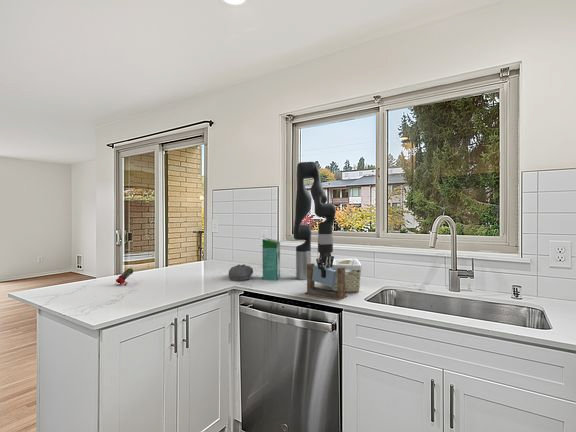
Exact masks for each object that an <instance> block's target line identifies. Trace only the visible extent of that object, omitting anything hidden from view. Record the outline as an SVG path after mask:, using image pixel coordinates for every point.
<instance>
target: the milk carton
mask: <svg viewBox="0 0 576 432" xmlns="http://www.w3.org/2000/svg"><path fill="white" fill-rule="evenodd" d="M280 278H281V241H280V240H279V241H278V239H276V238H267V237H266V238H265V237H264V238H263V239H262V280H265V281H266V280H267V281H277V280H279V279H280Z"/></svg>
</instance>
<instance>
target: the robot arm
mask: <svg viewBox="0 0 576 432" xmlns="http://www.w3.org/2000/svg"><path fill="white" fill-rule="evenodd" d="M320 175H321V174H320V171H319V168H318V165H317V164H316V162H315V161H301V162H299V163H298V164H297V166H296V194H295V195H296V197H295V214H294V215H295V219H294V224H293V239H294V240H296V241H304V242H303V243H301V244H299V245H296V246H295V274H296V275H295V278H296V279H297V280H302V281H303V280H304V281H305V280H306V281H307V264H310V263H312V251H311V249H312V245H311V244H312V228H311V226H310V225H308V224H304V225H303V224H302V222H303V220H304V219H305V217H306V216H307V215H308V214H309V213H310V211H311V209H312V202H313V203H314V214H315V216H317V217H318V218H326V219H325V220H324V221H321V222H319V223H318V225H317V227H318V228H317V229H318V230H317V232H318V235H317V252H318V253H319V256H318V258H316V265H318V269H320V270H321V277H322V278H326V267H327V268H330V269H331V267H332V265H333V260H334V259H335V256H334V255H332V253H333V250H334V238H333V225H334V220H335V217H336V216H335V215H336V214H337V213H336V212H337V210H336V209H337V208H336V206H335V204H334V203H331V202H329V203H328V196H327V194H326V192H325V190H324V187H323V184H322V180H321V176H320ZM305 179H313V182H312V185H311V187H310V191H308V189H307V188H306V185H305V183H304V182H305V181H304V180H305ZM312 199H313V201H312ZM330 264H331V265H330ZM320 266H321V267H320ZM323 266H324V267H323Z"/></svg>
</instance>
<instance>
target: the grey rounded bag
mask: <svg viewBox="0 0 576 432" xmlns="http://www.w3.org/2000/svg"><path fill="white" fill-rule="evenodd" d="M253 273H254V268H253V267H252V266H250V265H245V264H240V263H239V264H237V265H235V266H231V268H230V269H229V270H228V279H229V280H230V281H236V282H237V281H238V282H239V281H240V282H242V281H247V280H249V279H250V278H251V277H252V275H253Z"/></svg>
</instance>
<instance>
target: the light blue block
mask: <svg viewBox="0 0 576 432" xmlns="http://www.w3.org/2000/svg"><path fill="white" fill-rule="evenodd" d="M320 267H321V266H320ZM323 267H324V265H323ZM336 275H337V271H336V270H333V269H331V268H327V267H326V278H322V277H321V270H320V269H318V265H317V264H315V265H314V269H313V276H312V281H315V282H316V283H319V284H321V285H325V286H327V287H330V288H332V287H334V286H335V282H336Z"/></svg>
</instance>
